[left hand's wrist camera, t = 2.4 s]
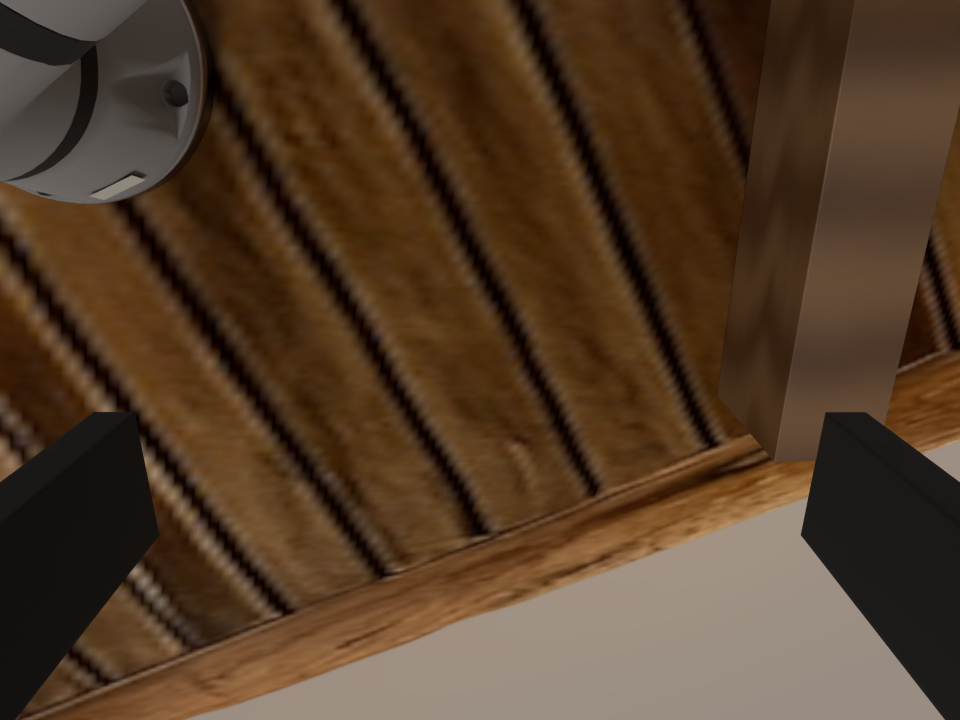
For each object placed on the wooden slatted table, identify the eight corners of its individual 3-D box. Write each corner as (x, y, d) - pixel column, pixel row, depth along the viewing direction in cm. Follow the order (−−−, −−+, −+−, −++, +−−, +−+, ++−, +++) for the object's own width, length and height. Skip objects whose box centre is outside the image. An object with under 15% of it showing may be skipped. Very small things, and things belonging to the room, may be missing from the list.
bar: (798, 395, 44) (876, 461, 35) (716, 395, 44) (774, 461, 35) (884, -73, 35) (1017, -137, 26) (780, -73, 35) (879, -137, 26)
